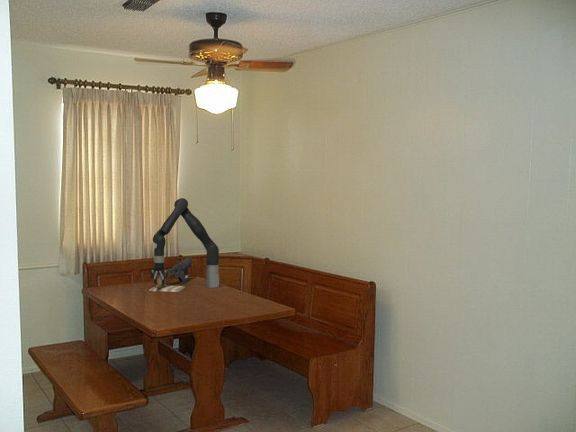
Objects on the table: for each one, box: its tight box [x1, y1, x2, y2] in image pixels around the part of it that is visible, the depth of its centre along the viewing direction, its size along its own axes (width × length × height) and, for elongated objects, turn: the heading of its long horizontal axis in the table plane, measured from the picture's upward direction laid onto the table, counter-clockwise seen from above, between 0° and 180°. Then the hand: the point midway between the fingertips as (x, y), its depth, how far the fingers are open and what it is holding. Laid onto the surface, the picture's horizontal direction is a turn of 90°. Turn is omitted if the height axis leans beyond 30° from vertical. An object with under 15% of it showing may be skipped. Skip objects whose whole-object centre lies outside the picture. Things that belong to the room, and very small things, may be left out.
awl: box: [156, 275, 162, 289], centre depth 403 cm, size 4×4×11 cm
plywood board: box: [149, 284, 186, 293], centre depth 408 cm, size 23×15×1 cm, turn 86°
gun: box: [166, 257, 194, 285], centre depth 426 cm, size 7×28×20 cm, turn 154°
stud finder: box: [162, 278, 168, 288], centre depth 411 cm, size 4×6×6 cm, turn 176°
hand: (159, 284), depth 403 cm, fingers open, 5 cm apart
